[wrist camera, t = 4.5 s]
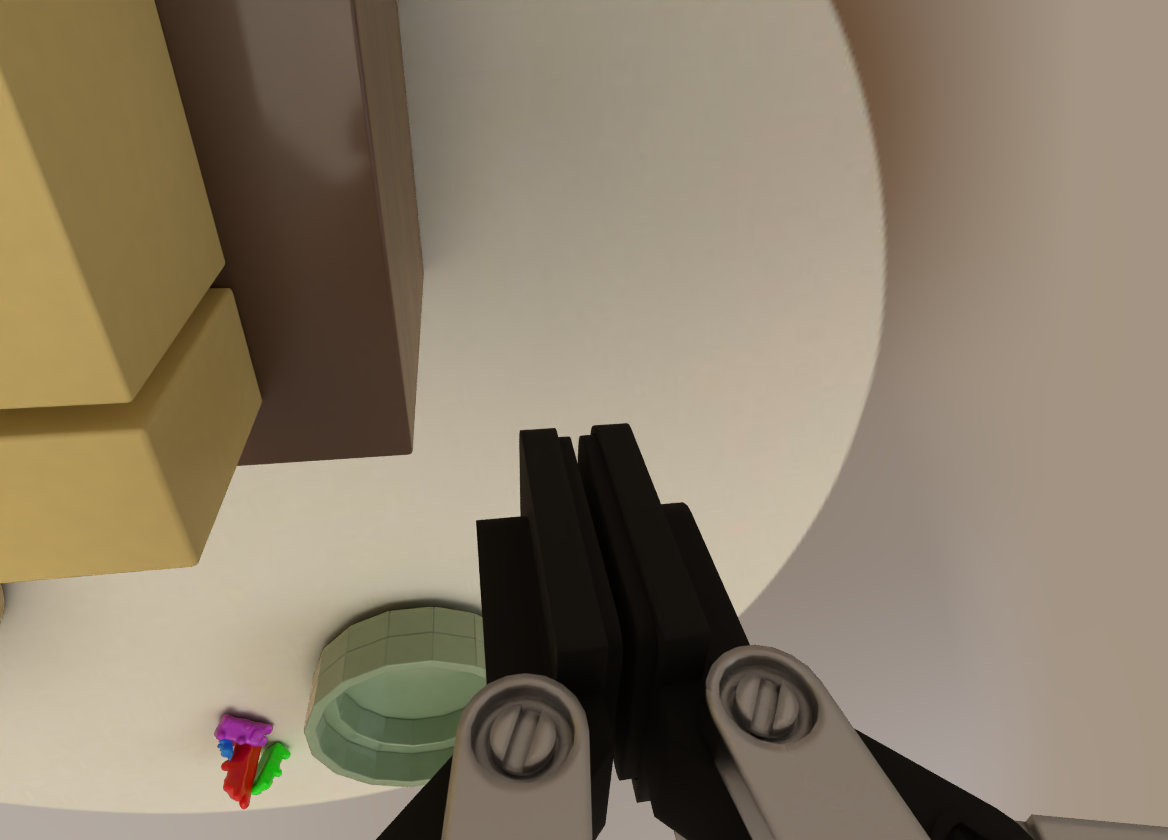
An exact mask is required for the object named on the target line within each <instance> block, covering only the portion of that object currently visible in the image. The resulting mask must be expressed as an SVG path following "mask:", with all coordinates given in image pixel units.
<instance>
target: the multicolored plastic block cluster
mask: <svg viewBox="0 0 1168 840" xmlns="http://www.w3.org/2000/svg"><path fill="white" fill-rule="evenodd" d="M272 730H273V726H272V725H270V724H266V723H261V722H253V721H251V720H249V719H245V718H236V717H232V716H231V715H228V714H224V715H223V716H222V717H221V720H220V722H219V724H218V726H217V728H216V730H215V732H214V735H215V737H216V738H217V739H218V740H219V743H220V744H218V746H217V747H218V748H220V751H221V756H222V757H227V758H228V760H227V761H225V762H224V763H223V764H222V765H221V768H222V770H224V771H228V773H227V776H226V778H225V780H224V785H223V789H224V791H226V792H227V793H228V794H229V797H230V798H231V799H233V800H235V801H239V804H240V807H241V808H242V809H246V808H248V806H249V803H250V798H251V794H253V795H258V794H260V793H261V792H262V791H264V790H267V789H268V788H269V787H270V786H271V784H272V783H273V778H274V776H275V777H280V776H281V775H282V770H281V769H280V763H281V761H282V759H288V758H289V757H290V752H289V751H288V750H287V749H286V748H285V747H284V746H283V745H282V744H281V743H275V744H274V745H272V746H271V747H269V748H268V749H266V750H265V751H264V752H263V754H262V757H261V759H260V761H259V763H258V760H259V756H260V752H261V749H262V746H264V745H265V744H266V743H267V740H268V739H267V737H266V736H264V735H267V734H270V733H271V732H272ZM233 746H235V747H234V750H233Z"/></svg>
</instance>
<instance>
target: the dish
mask: <svg viewBox="0 0 1168 840" xmlns="http://www.w3.org/2000/svg"><path fill="white" fill-rule="evenodd" d="M486 685H487V683H486V667H485V652H484V636H483V620H482V617H481V616H479V615H477V614H473V613H471V612H465V611H458V610H452V609H446V608H440V607H422V608H412V609H403V610H393V611H387V612H384V613H382V614H379V615H377V616H374V617H371V618H369V619H366V620H364V621H361V622H359V623H356V624H353V625H351V626H350V627H348V628H347V629H346V630H345V631H344V632H342V633H341V634H340V635H339V636H338V637H337V638H335V639H334V640H333V641H332V642H331V643H330V644H328V645H327V646H326V647H325V648H324V649H323V651H322V654H321V657H320V659H319V662H318V664H317V667H316V670H315V672H314V676H313V682H312V687H311V693H310V698H309V704H308V710H307V715H306V721H305V726H304V733H305V736H306V739H307V742H308V745H309V748H310V751H311V753H312V755H313V756H314V757H315V758H316V759H318V760H319V761H320V762H321V763H323V764H324V765H325V766H327V767H328V768H329V769H330V770H332V771H333V772H334V773H336V774H338V775H342V776H345V777H348V778H351V779H354V780H357V781H360V782H364V783H367V784H371V785H386V786H401V787H413V786H420V785H426V784H427V783H428V782H429V780H430V779H431V778H432V777H433V776H434V775H435V774H436V773H437V772H438V771H439V769H440V768H441V767H442V766H443V765H444V764H445V763H446V762H447V761H448V759H449V758H450V757H451V756H452V755H453V752H454V745H455V737H456V731H457V727H458V724H459V721H460V718H461V714H462V712H463V710H464V709H465V707H466V706H467V704H468V703H469V702H470V700H471V699H472V697H473V696H474V695H475V694H476V693H478V692H479V691H480V690H481V689H483V688H484V687H485V686H486Z"/></svg>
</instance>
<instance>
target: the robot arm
mask: <svg viewBox="0 0 1168 840" xmlns="http://www.w3.org/2000/svg"><path fill="white" fill-rule="evenodd" d="M519 449H520V511H521V517H510V518H498V519H487V520H476V526H477V541H478V557H479V573H480V589H481V604H482V620H483V636H484V652H485V667H486V683H487V685H486V686H485V687H484V688H483V689H481V690H480V691H479V692H478V693H476V694H475V695H474V696H473V697H472V699H471V700H470V702H469V703H468V704H467V706H466V707H465V709H464V710H463V712H462V714H461V718H460V721H459V724H458V727H457V731H456V737H455V745H454V752H453V755H452V756H451V757H450V758H449V759H448V761H447V762H446V763H445V764H444V765H443V766H442V767H441V768H440V769H439V771H438V772H437V773H436V774H435V775H434V776H433V777H432V778H431V779H430V780H429V782H428V783H427V784H426V785H425V786H424V787H423V788H422V789H421V791H420V792H419V793H418V794H417V795H416V796H415V797H414V798H413V800H411V801H410V803H409V804H408V805H407V806H406V807H405V808H404V809H403V810H402V811H401V813H400V814H399V815H398V816H397V817H396V818H395V819H394V821H392V822H391V824H390V825H389V826H388V827H387V828H386V829H385V830H384V831H383V832H382V833H381V835H380V836H379V837H378V838H377V839H376V840H596V838H597V836H598V835H599V833H600V832H601V830H602V829H603V827H604V826H605V823H606V814H607V805H608V798H609V788H610V781H611V772H612V764H613V760H614V764H615V769H616V773H617V776H618V779H619V780H626V779H632V784H633V788H634V792H635V797H636V801H637V803H638V802H645V801H651V805H652V809H653V813H654V816H655V817H656V818H657V819H659V820H660V821H661V822H663V823H664V824H666V825H667V826H668V827H670V828H671V829H673V830H674V834H675V837H676V840H1168V827H1160V826H1149V825H1137V824H1127V823H1116V822H1105V821H1095V820H1083V819H1074V818H1063V817H1051V816H1041V815H1031V816H1030V817H1029V818H1028V820H1027V821H1026V822H1022V821H1014V820H1012V819H1011V818H1010V817H1008V816H1007V815H1005V814H1004V813H1002V812H1001V811H999V810H998V809H997V808H995V807H993V806H991V805H990V804H988V803H986V802H984V801H982V800H981V799H979V798H977V797H975V796H974V795H972V794H970V793H968V792H966V791H965V790H963V789H961V788H959V787H958V786H956V785H954V784H952V783H950V782H948V781H947V780H945V779H943V778H941V777H940V776H938V775H936V774H934V773H932V772H931V771H929V770H927V769H925V768H924V767H922V766H920V765H918V764H916V763H915V762H913V761H911V760H909V759H908V758H905V757H904V756H902V755H900V754H898V753H897V752H895V751H893V750H892V749H890V748H888V747H886V746H884V745H883V744H881V743H879V742H877V741H876V740H874V739H872V738H870V737H868V736H867V735H865V734H863V733H861V732H860V731H858V730H856V729H854V728H853V727H852V725H851V724H850V722H849V721H848V719H847V718H846V717H845V715H844V714H843V712H842V711H841V709H840V708H839V706H838V705H837V703H836V702H835V701H834V699H833V698H832V696H831V695H830V693H829V692H828V690H827V689H826V687H825V686H824V685H823V683H822V682H821V681H820V679H819V678H818V677H817V676H816V675H815V674H814V673H813V671H812V670H811V669H810V668H809V667H808V666H806V665H805V664H804V663H802V662H801V661H800V660H798V659H796V658H795V657H794V656H792V655H790V654H788V653H785V652H783V651H780V650H778V649H776V648H773V647H766V646H760V645H750V644H749V642H748V639H747V637H746V635H745V633H744V630H743V628H742V626H741V624H740V621H739V619H738V617H737V615H736V612H735V610H734V608H733V606H732V603H731V601H730V599H729V597H728V594H727V592H726V590H725V587H724V585H723V583H722V581H721V578H720V576H719V574H718V572H717V569H716V567H715V565H714V563H713V560H712V558H711V556H710V554H709V551H708V549H707V547H706V545H705V542H704V540H703V538H702V535H701V533H700V531H699V529H698V526H697V524H696V522H695V520H694V517H693V515H692V513H691V511H690V509H689V508H688V506H687V505H686V504H685V503H683V502H682V503H670V504H661V503H660V500H659V498H658V495H657V493H656V490H655V488H654V485H653V483H652V480H651V478H650V475H649V473H648V470H647V467H646V465H645V462H644V460H643V457H642V455H641V452H640V450H639V447H638V445H637V442H636V440H635V437H634V435H633V432H632V429H631V427H630V425H629V424H627V423H624V424H609V425H594V426H593V427H592V429H591V435H584V436H580V437H579V445H578V464H577V460H576V456H575V452H574V449H573V445H572V441H571V438H570V437H558V434H557V431H556V429H555V428H549V429H534V430H520V434H519Z"/></svg>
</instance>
